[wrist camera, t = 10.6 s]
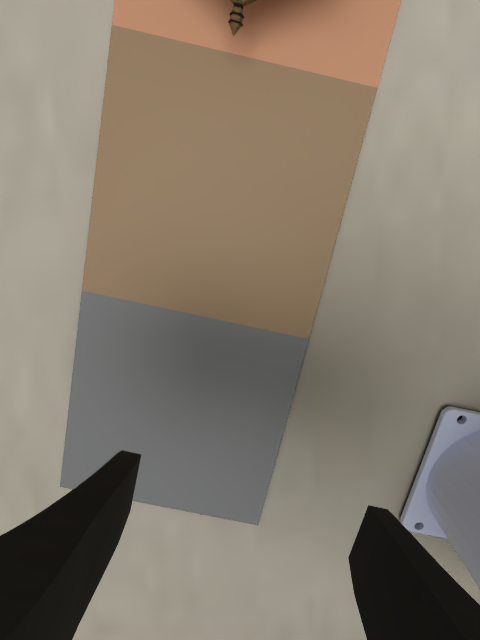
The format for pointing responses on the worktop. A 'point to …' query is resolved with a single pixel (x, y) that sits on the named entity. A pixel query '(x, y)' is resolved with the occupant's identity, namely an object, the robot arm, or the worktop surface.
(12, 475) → the worktop surface
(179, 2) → the tricolour rectangular mat
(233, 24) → the game die
